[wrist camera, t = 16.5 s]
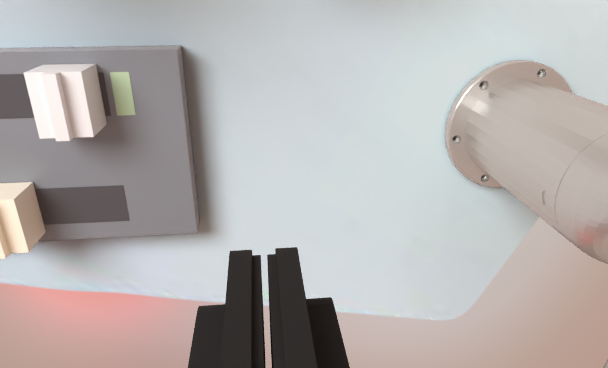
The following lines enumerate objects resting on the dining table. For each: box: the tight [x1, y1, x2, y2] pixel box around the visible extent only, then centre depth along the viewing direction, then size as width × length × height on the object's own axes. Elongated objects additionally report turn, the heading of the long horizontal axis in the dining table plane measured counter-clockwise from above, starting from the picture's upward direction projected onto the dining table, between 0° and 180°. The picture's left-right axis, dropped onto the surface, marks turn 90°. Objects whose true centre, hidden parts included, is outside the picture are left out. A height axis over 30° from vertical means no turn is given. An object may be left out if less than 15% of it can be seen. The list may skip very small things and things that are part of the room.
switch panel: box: [0, 46, 200, 241], centre depth 40 cm, size 24×17×2 cm
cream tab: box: [0, 182, 46, 259], centre depth 39 cm, size 4×5×4 cm
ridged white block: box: [24, 64, 107, 141], centre depth 36 cm, size 4×5×4 cm
